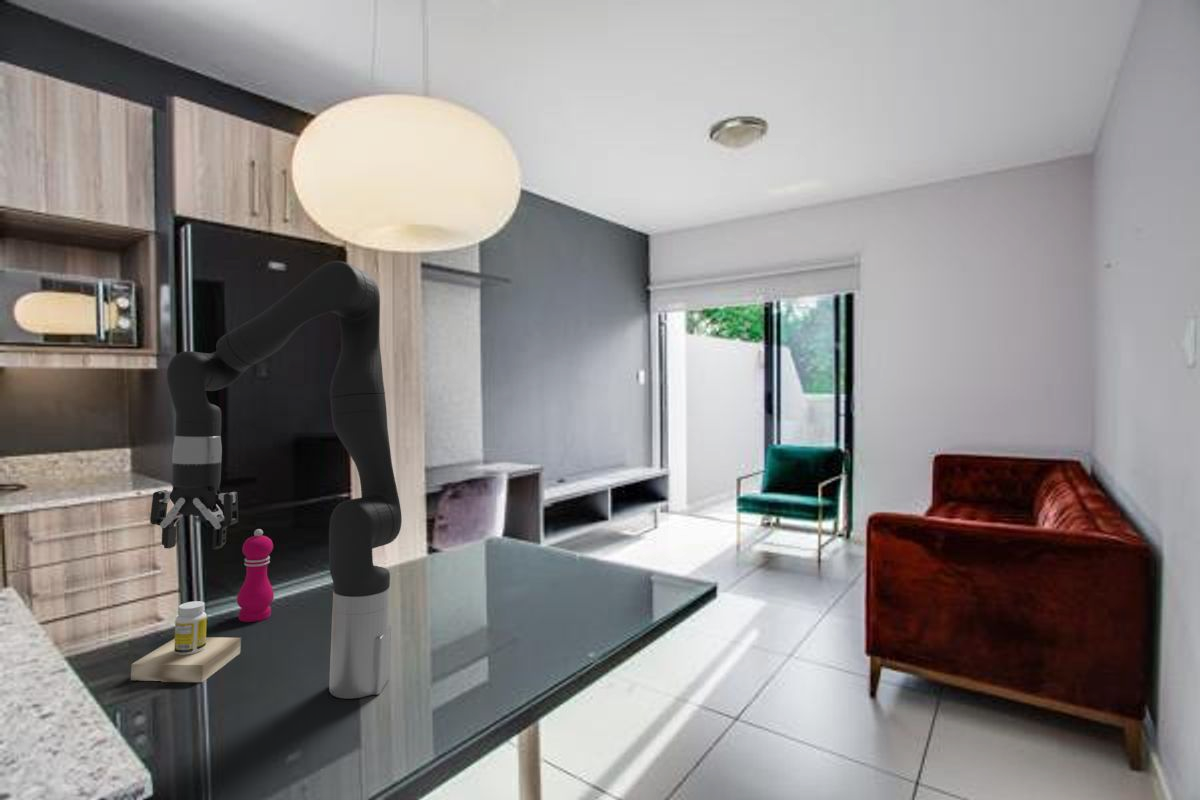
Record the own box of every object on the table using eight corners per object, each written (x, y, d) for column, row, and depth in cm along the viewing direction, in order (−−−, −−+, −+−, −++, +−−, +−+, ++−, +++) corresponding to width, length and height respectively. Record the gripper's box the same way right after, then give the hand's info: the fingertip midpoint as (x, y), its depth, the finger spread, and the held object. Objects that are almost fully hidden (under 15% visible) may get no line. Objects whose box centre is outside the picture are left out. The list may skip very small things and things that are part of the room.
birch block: (240, 653, 115) (240, 637, 115) (202, 682, 103) (203, 665, 103) (176, 652, 114) (177, 636, 114) (130, 681, 102) (131, 664, 102)
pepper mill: (267, 609, 138) (271, 524, 138) (277, 618, 133) (281, 530, 133) (232, 616, 133) (236, 528, 133) (240, 625, 128) (244, 534, 128)
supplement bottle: (200, 642, 112) (202, 598, 112) (209, 650, 109) (211, 604, 109) (170, 650, 108) (172, 604, 108) (178, 658, 105) (180, 611, 105)
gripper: (248, 459, 113) (244, 544, 113) (170, 457, 112) (167, 542, 112) (225, 463, 105) (221, 554, 105) (142, 461, 104) (138, 552, 104)
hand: (193, 548), depth 108 cm, fingers open, 8 cm apart
